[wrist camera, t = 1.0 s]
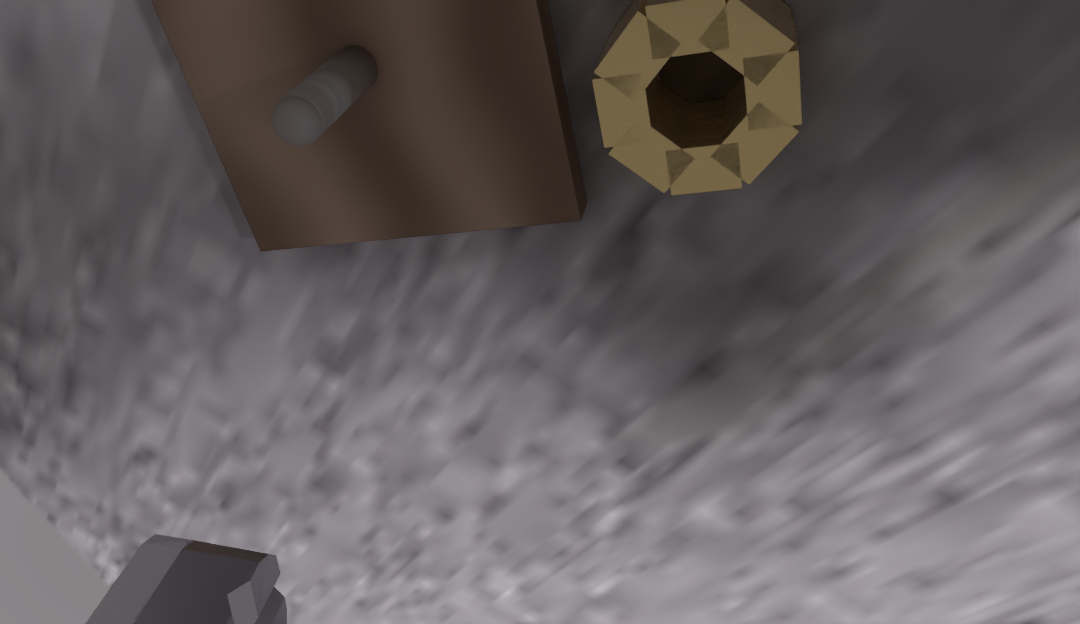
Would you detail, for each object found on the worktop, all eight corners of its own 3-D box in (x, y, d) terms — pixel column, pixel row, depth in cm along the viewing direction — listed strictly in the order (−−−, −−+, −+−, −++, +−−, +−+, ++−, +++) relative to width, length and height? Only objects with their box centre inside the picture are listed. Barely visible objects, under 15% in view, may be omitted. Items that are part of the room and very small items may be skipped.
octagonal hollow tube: (789, -50, 27) (795, -18, 24) (798, 133, 31) (804, 182, 27) (599, -17, 29) (580, 17, 26) (627, 152, 32) (613, 201, 29)
